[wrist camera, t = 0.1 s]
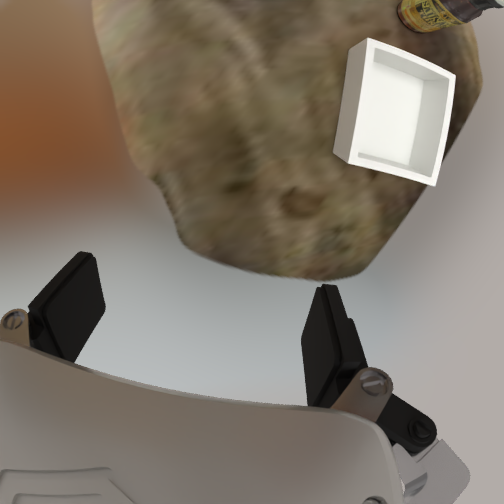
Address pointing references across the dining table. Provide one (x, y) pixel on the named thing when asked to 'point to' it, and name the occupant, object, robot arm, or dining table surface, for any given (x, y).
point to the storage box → (394, 112)
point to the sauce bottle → (442, 12)
